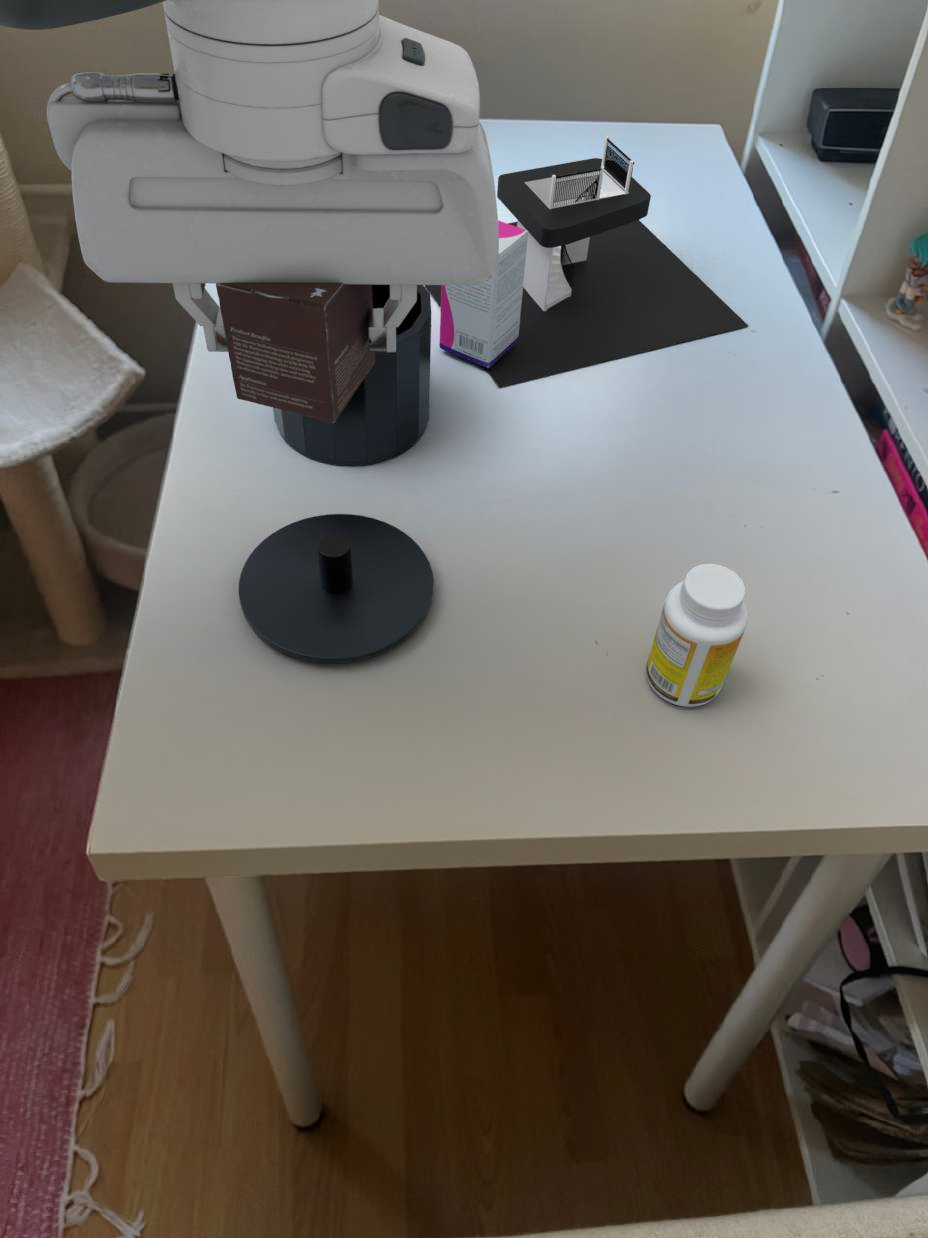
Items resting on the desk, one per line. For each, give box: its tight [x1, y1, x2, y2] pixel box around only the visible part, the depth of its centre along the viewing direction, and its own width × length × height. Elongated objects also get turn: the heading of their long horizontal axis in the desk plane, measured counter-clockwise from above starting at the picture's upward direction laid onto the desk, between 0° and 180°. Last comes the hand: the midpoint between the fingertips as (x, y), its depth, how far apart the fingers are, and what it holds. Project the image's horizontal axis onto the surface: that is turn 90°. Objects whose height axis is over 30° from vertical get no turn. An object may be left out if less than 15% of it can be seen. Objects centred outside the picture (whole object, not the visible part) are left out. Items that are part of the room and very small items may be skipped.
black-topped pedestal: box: [424, 135, 749, 388], centre depth 100 cm, size 28×26×13 cm
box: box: [215, 282, 375, 423], centre depth 53 cm, size 6×6×7 cm
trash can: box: [272, 285, 432, 467], centre depth 86 cm, size 14×14×12 cm
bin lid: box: [238, 513, 435, 664], centre depth 75 cm, size 15×15×5 cm
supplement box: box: [438, 219, 528, 368], centre depth 92 cm, size 6×6×12 cm
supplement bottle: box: [645, 563, 749, 708], centre depth 69 cm, size 6×6×10 cm
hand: (304, 345), depth 54 cm, fingers closed on box, 7 cm apart
